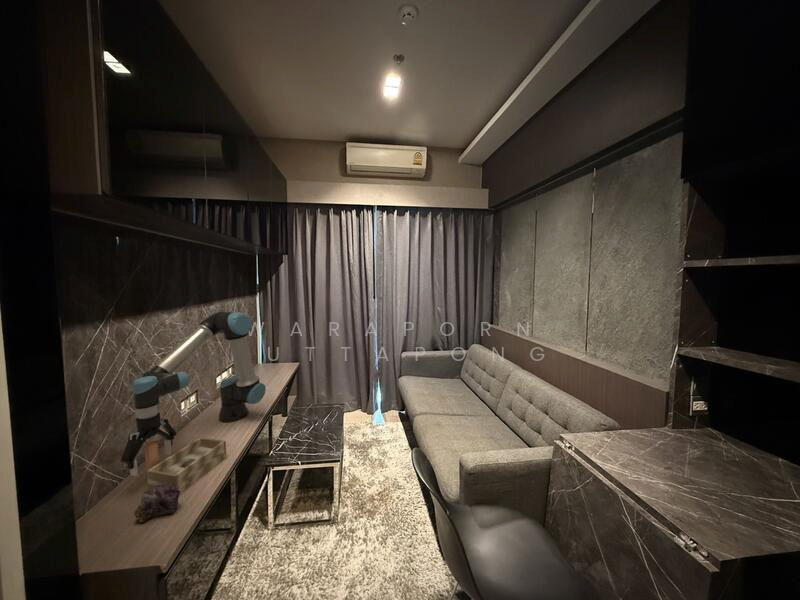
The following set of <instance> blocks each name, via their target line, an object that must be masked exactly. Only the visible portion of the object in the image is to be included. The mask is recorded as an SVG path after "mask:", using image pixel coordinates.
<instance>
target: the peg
mask: <svg viewBox="0 0 800 600" xmlns="http://www.w3.org/2000/svg"><path fill="white" fill-rule="evenodd" d="M143 446H144V448H143V449H144V456H145V458H144V459H145V467H146V472H147V471H148V470H149V469H151V468H152V467H154V466H156V465H157V464H159V463H160V454H159V453H160V452H159V444H158V441H156V440H154V441H153V440H152V441H150V442H147V443H145V444H144V445H143Z"/></svg>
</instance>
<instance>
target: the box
mask: <svg viewBox="0 0 800 600" xmlns="http://www.w3.org/2000/svg"><path fill="white" fill-rule="evenodd" d="M226 442H227V441H226V440H221V439H215V438H208V437H199V438H197V439H196V440H194V441H192V442H190V443H189V444H188V445H185V446H184V447H182V448H181V449H179V450H178V451H176V452H175V453H172V454H171V455H169V456H168V457H167V458H165V459H163V460H162V461H159V464H157V465H156V466H154V467H152V468H151V469H149V470H148V471H147V470H146V477H147V479H146V480H147V488H148V489H150V488H152V487H153V486H157V485H165V484H170V485H172V486H174V487H175V488H176V489H177V490H178V491H180V494H182V492H184V491H186V490H187V489H188V488H189V487H190V486H192V485H194V483H195V482H197V481H199V479H200V478H202V477H203V476H205V475H206V474H207V473H208V472H210V471H211V470H213V468H215V467H216V466H217V465H219V464H220V463H222V462H223V461H224V460H226V459H227V446H226V445H227V443H226ZM148 489H147V490H148Z"/></svg>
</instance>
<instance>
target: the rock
mask: <svg viewBox="0 0 800 600" xmlns="http://www.w3.org/2000/svg"><path fill="white" fill-rule="evenodd" d="M180 495H181V493H180V491H178V490H177V489H176V488H175V487H174V486H172V485H170V484H165V485H157V486H153V487H152V488H150V489H147V490H145V491H143V493H142V496H141V498H140V500H139V503H138V505H137V508H136V509H135V511H134V513H133V515H134V517H135V518H136V519H138V521H139V523H144V522H145V523H146V522H147V521H149V520H150V519H152V518H154V517H160V516H163V514H165V515H168V514H173V513H174V512H175V511H176V510H177V507H178V503H179V497H180Z"/></svg>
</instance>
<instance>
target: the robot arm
mask: <svg viewBox="0 0 800 600" xmlns="http://www.w3.org/2000/svg"><path fill="white" fill-rule="evenodd" d="M195 328H196V329H195V330H194V331H193V332H192V333H190V334H189V335H188V336H187V337H186V338H185V339H184V340H183V341H181V342H180V343H179V344H178V345H177V346H176V347H175V348H174V349H172V351H170V352H169V353H168V354H166V356H165V357H164V358H162V359H161V360H160V361H159V362H158V363H156V365H155V366H154V367H152V368H151V369H149V370H145V371H146V372H144V371H143V372H144V374H143V375H142V377H141V378H139V379H137V378H136V379H135V380H134V381H133V383H132V394H133V400H134V412H135V423H136V429H137V432H135V433H130V434H128V438H127V443H126V445H125V447H124V451H123V453H122V455H121V458H120V462H121V463H125V464H126V463H127V469H128V470H129V471H130V476H134V477H137V476H139V471H138V469H139V468H138V460H137V458H136V457H137V455H138V453H139V452H140V450H141V448H142V446H144V445H143V444H144V443H146V442H147V440H149V439H151V438H152V437H155V436H156V435H159V436H160V437H162V438H164V440H163V443H164V446H163V447H164V455H167V456H171V455H173V453H172V452H173V451H172V447H173V440H174V439H175V437H176V436H177V432H176V431H175V429H174V427H172V426H171V424H170V423H169V420H168V418H161V408H160V398H162V397H163V396H166V395H168V394H173V393H174V392H177V391H181V390H183V389H185V388H187V387H188V386H189V383H190V378H189V375H188V374H187V373H186V372H184V371H179V372H175V371H176V370H177V369H179V367H181V365H183V364H184V363H185V362H186V361H187V360H189V358H190V357H191V356H192V355H193V354H194V353H195V352H196V351H198V349H199V348H201V347H202V346H203V345H204V344H205V343H206V342H207V341H208V340H209V339H213V338H214V337H215V336H217V335H218V334H223V337H224V340H225V341H227V342H228V344H229V347H230V351H231V355H232V359H233V363H234V367H235V372H236V376H231V377H227V378H225V379H223V380H222V381H221V382H220V383H219V389H220V390H219V392H220V393H219V394H220V402H221V403H220V404H221V406H220V410H219V414H218V421H220V422H222V423H232V422H236V421H240V420H242V419H243V418H245V417H247V416H248V414H249V410H248V407H247V405H246V404H249V405H252V404H253V405H255V404H258V403H259V402H261V401H262V400H263V398H264V396H265V394H266V385H265V384H264V383H263V382H260V378H259V376H258V375H257V374H256V372H255V369H254V365H253V360H252V357H251V356H252V355H251V351H250V347H249V342H248V339H247V337H248V336H249V335H250V331H251V328H252V320H251V318H250V317H249V316H248V314H246V313H244V312H239V311H217V312H214V313H212V314H211V315H209V316H207V317H206V318H205V319H204V320H202V321H201V322H199V323H198V324H197V325H196V326H195ZM161 426H162V428H163V429H164V430H165V431H166V432H165V431H164V430H162V429H161Z"/></svg>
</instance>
